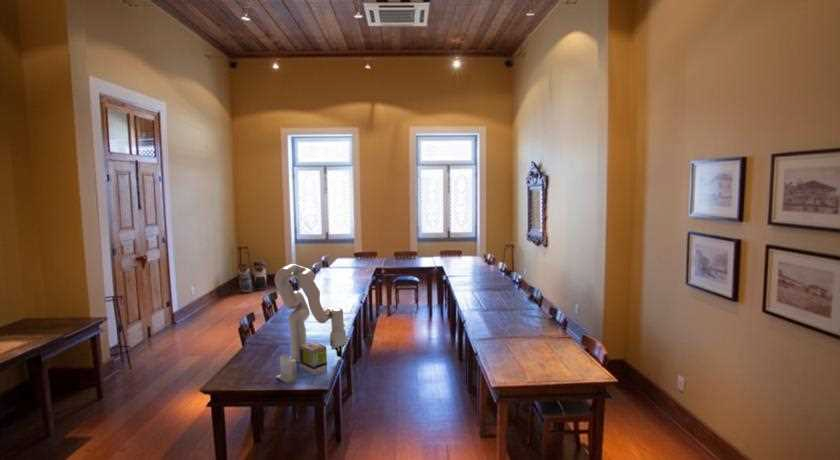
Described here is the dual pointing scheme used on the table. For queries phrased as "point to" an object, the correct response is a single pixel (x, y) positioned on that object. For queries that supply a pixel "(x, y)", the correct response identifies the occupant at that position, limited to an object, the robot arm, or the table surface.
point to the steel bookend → (287, 370)
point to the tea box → (313, 357)
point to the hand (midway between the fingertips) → (339, 356)
